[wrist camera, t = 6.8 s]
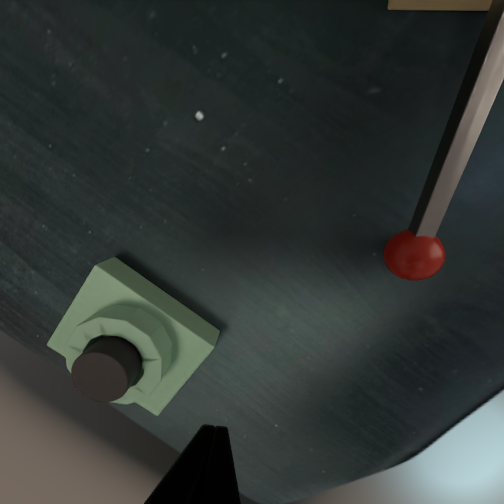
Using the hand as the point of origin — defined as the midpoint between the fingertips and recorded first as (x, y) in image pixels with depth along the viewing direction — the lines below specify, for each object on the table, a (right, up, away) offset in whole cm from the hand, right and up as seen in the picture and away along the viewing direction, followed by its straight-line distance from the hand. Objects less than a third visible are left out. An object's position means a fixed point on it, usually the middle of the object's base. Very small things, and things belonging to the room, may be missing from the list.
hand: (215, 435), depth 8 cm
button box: (-8, 0, +12) cm, 14 cm away
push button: (-8, -1, +8) cm, 12 cm away
